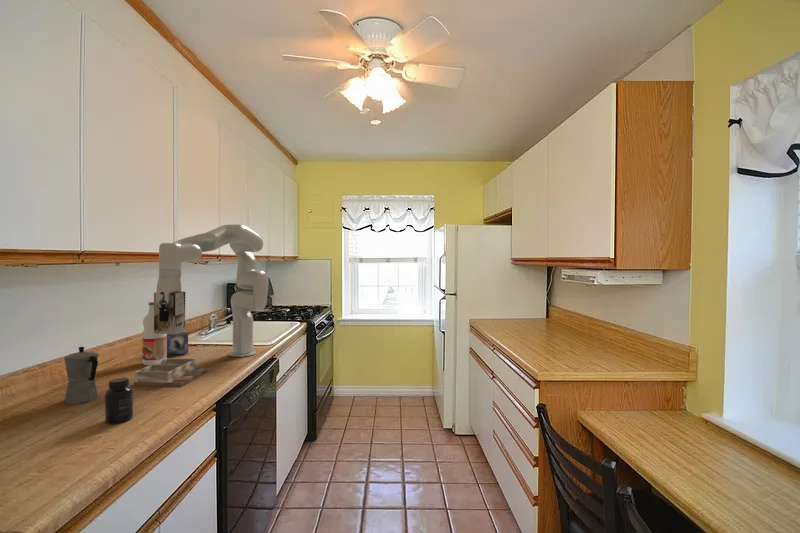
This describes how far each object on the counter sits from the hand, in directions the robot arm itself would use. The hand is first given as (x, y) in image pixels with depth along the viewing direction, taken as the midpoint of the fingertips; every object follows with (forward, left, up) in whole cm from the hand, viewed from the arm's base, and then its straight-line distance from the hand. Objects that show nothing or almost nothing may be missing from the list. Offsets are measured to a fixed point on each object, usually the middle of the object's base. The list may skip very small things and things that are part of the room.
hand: (169, 319), depth 151 cm
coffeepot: (+22, -16, -24) cm, 37 cm away
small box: (-40, -21, -24) cm, 51 cm away
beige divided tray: (-3, 0, -24) cm, 24 cm away
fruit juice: (-24, -21, -24) cm, 40 cm away
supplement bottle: (+37, +7, -24) cm, 45 cm away
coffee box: (0, 0, -5) cm, 5 cm away
